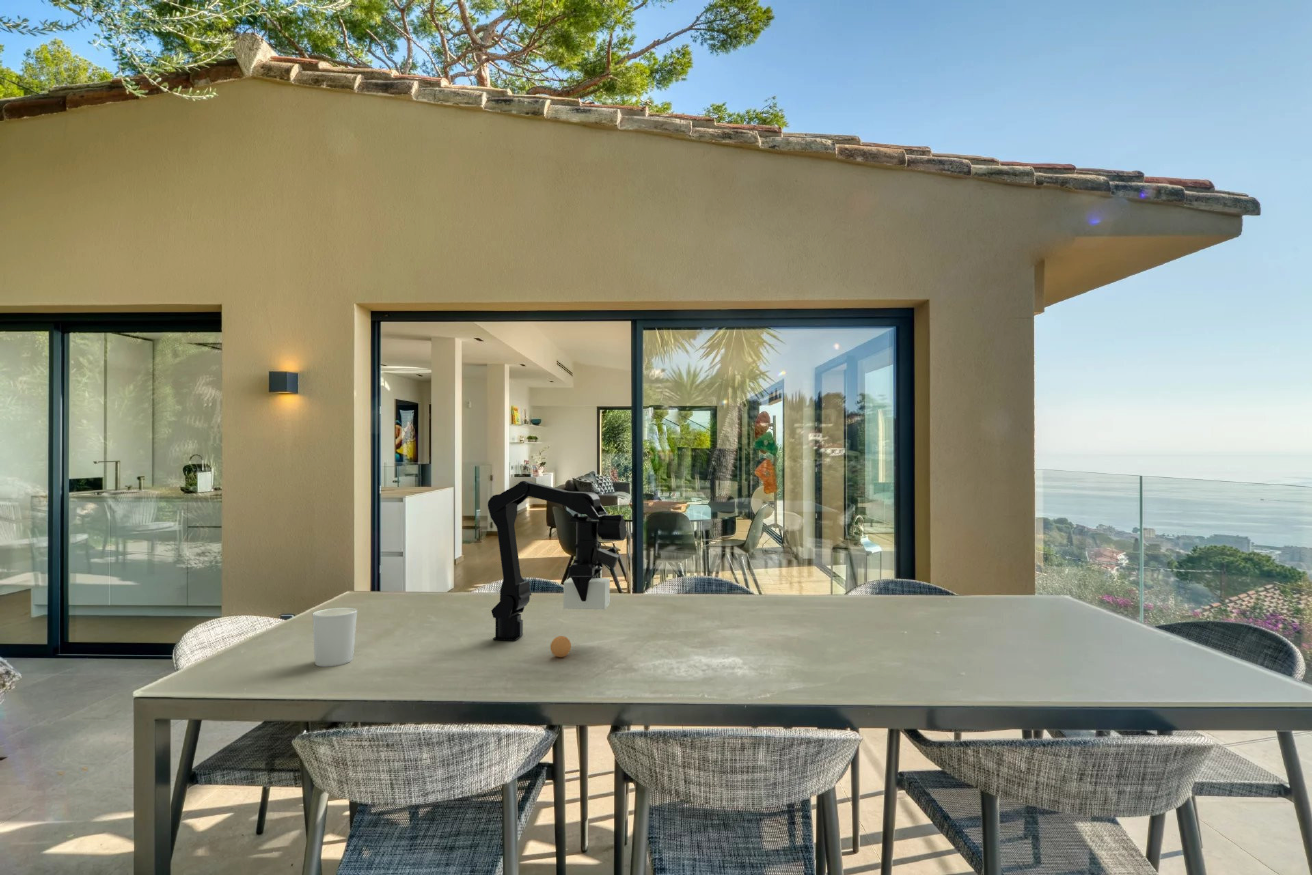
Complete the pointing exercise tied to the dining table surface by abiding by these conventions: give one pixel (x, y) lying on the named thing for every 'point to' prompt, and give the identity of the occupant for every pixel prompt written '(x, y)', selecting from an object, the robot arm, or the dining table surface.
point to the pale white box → (588, 595)
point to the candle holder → (334, 636)
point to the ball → (560, 646)
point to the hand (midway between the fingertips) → (586, 598)
